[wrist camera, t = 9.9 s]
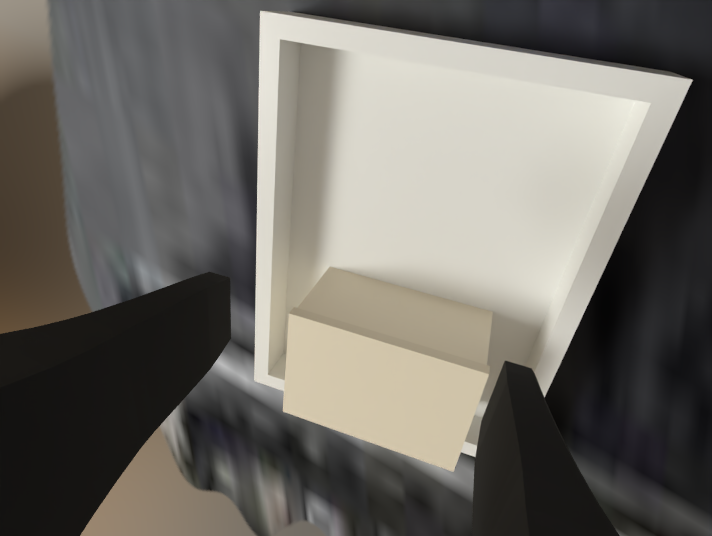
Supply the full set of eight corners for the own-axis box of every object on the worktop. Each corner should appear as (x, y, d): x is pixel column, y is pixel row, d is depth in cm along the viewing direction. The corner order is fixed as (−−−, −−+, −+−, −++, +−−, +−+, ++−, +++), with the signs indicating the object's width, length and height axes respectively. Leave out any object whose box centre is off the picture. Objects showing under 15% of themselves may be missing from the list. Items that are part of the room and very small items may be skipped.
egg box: (495, 310, 21) (489, 374, 17) (464, 400, 24) (453, 471, 20) (327, 264, 23) (288, 313, 19) (318, 353, 26) (282, 411, 22)
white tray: (670, 71, 16) (693, 79, 13) (512, 431, 25) (511, 469, 23) (290, 11, 18) (260, 10, 16) (274, 353, 28) (254, 380, 25)
